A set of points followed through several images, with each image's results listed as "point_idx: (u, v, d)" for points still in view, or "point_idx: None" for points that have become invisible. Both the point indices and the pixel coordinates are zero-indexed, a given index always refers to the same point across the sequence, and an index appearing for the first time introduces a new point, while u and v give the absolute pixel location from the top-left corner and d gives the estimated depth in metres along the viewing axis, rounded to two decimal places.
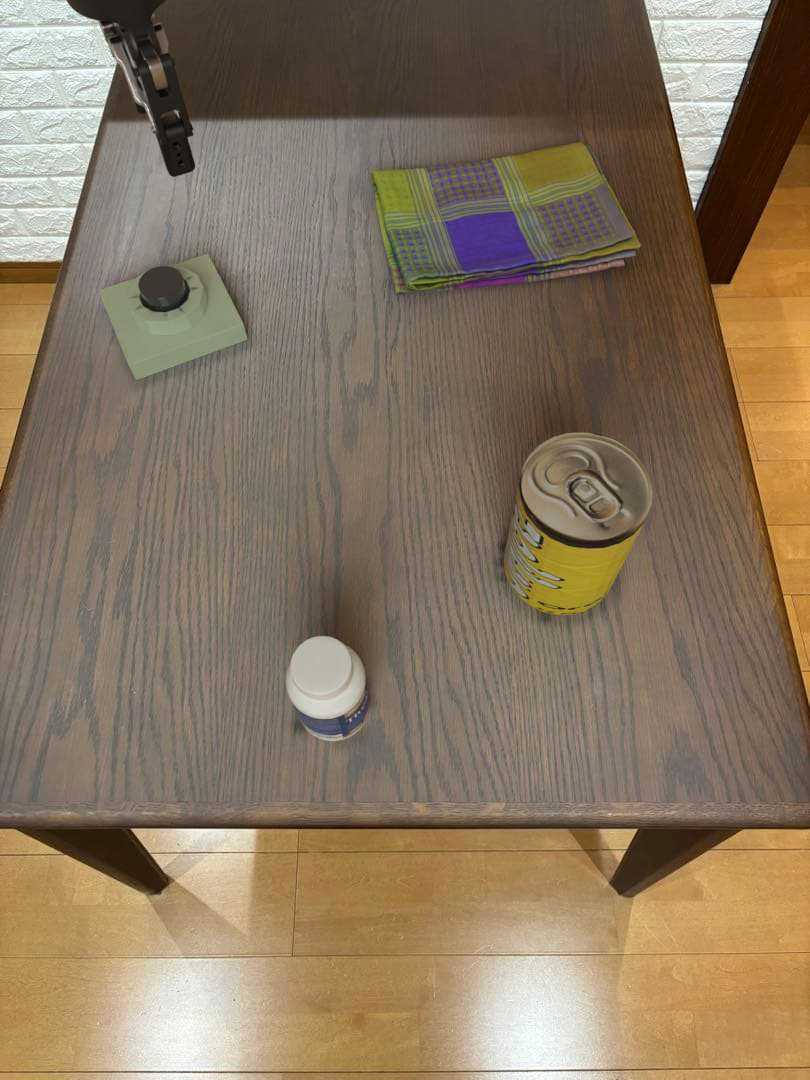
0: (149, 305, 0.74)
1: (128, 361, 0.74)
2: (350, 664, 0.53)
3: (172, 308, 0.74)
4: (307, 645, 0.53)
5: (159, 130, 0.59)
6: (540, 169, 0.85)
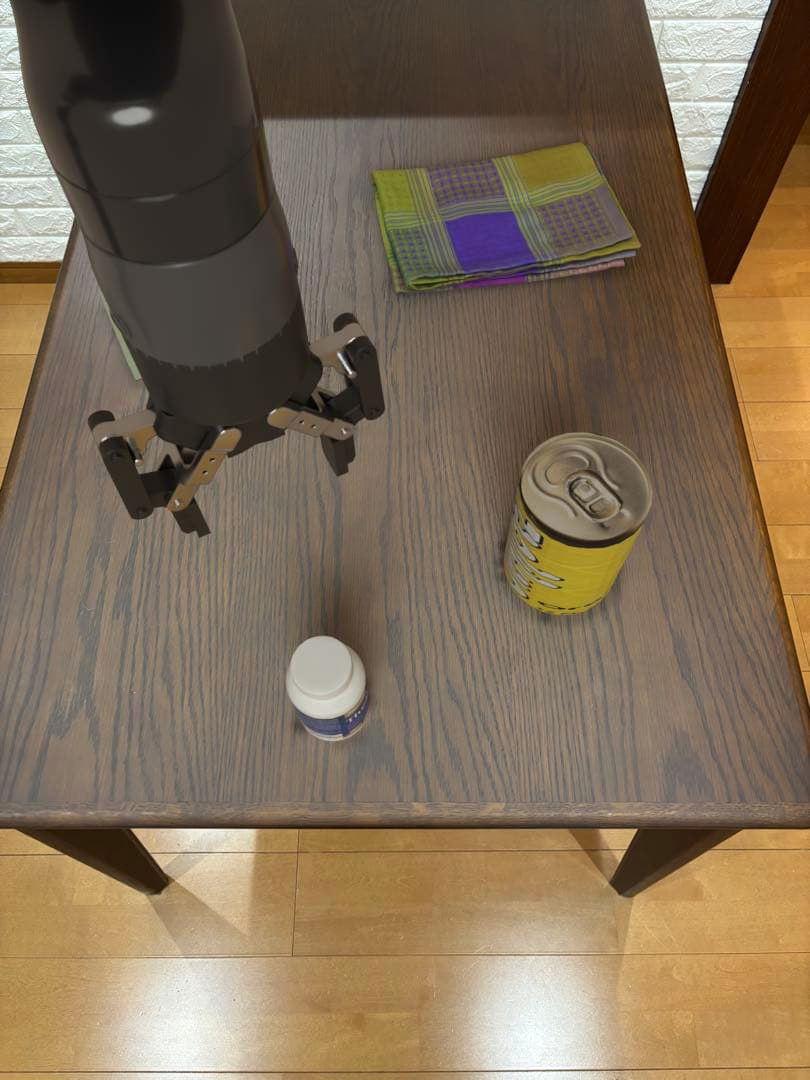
0: None
1: (128, 361, 0.74)
2: (350, 664, 0.53)
3: None
4: (307, 645, 0.53)
5: None
6: (540, 169, 0.85)
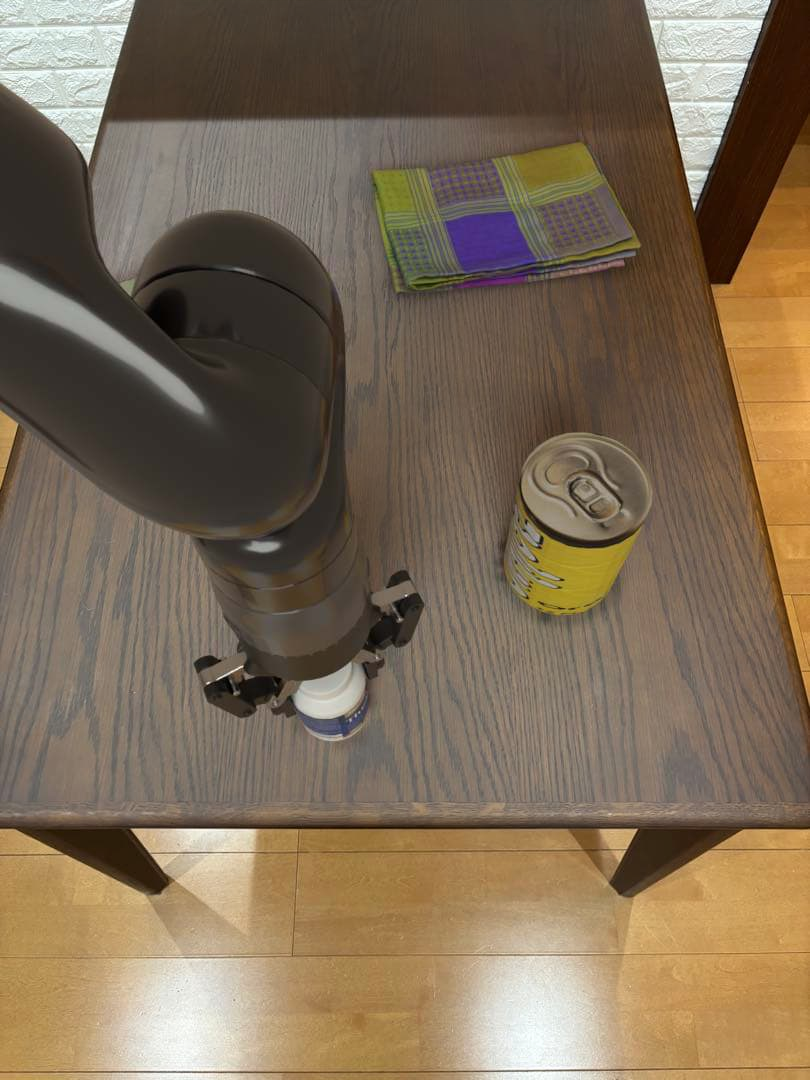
0: None
1: None
2: (350, 664, 0.53)
3: None
4: None
5: None
6: (540, 169, 0.85)
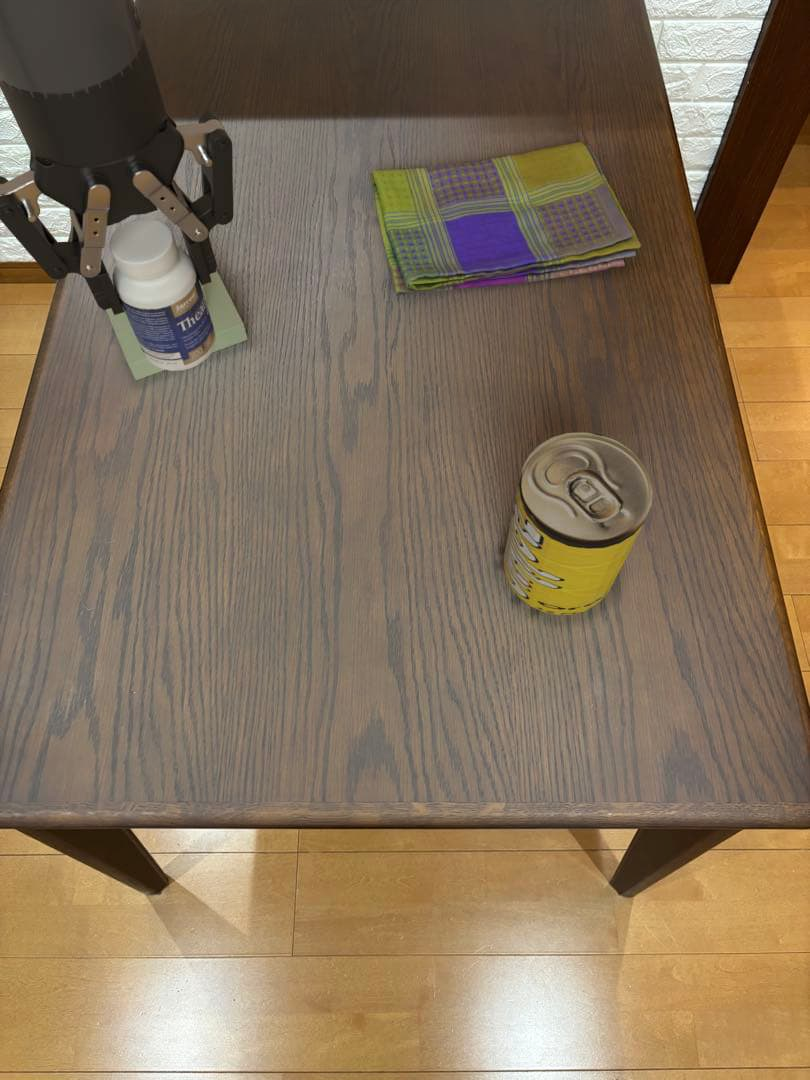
0: None
1: (128, 361, 0.74)
2: (171, 240, 0.51)
3: None
4: (128, 225, 0.52)
5: None
6: (540, 169, 0.85)
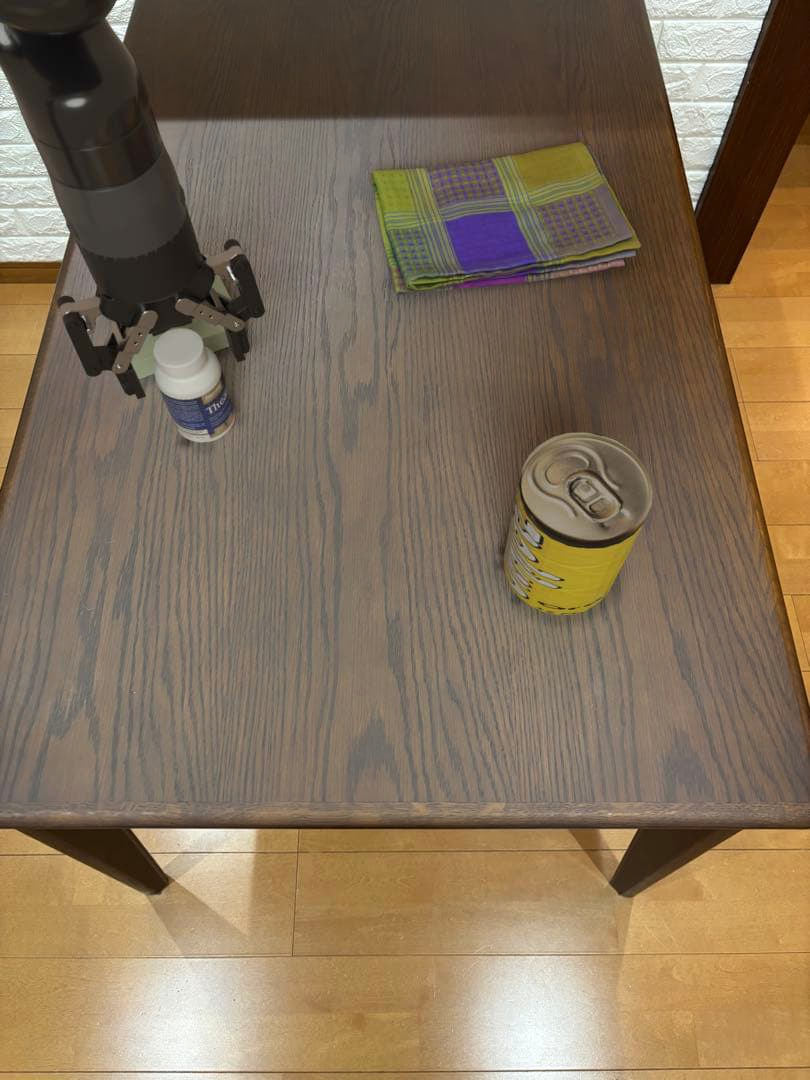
0: None
1: None
2: (202, 347, 0.65)
3: None
4: (168, 334, 0.65)
5: None
6: (540, 169, 0.85)
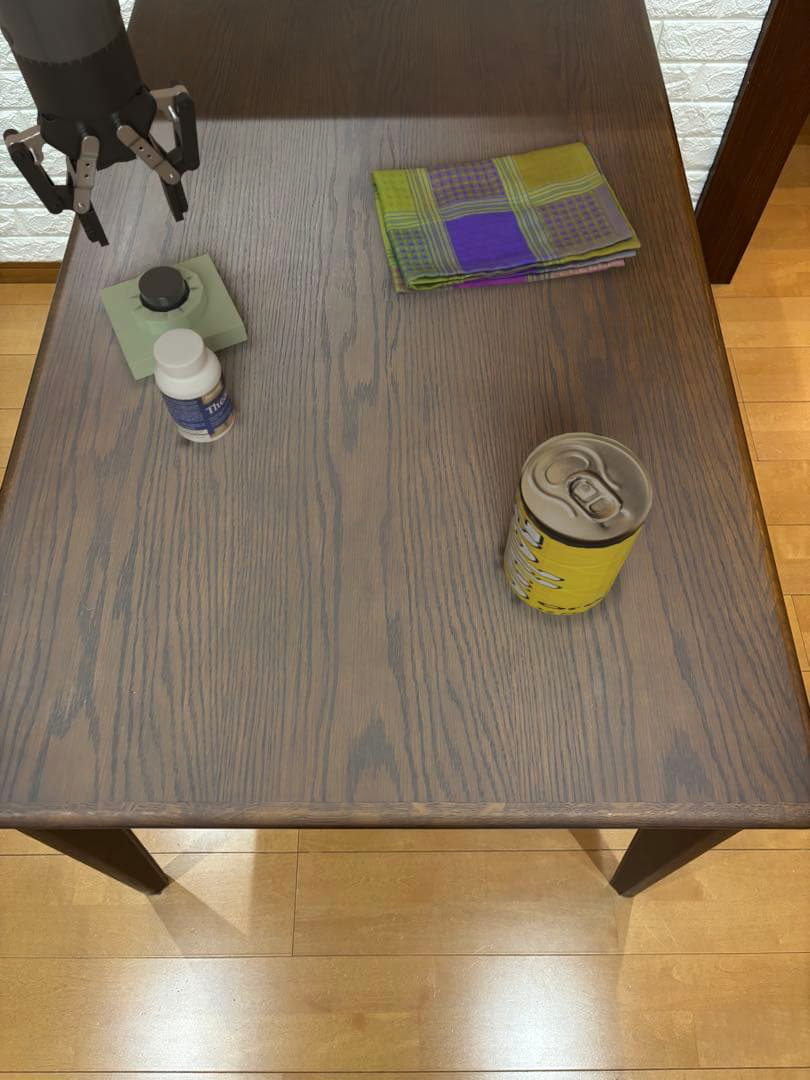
0: (149, 305, 0.74)
1: (128, 361, 0.74)
2: (202, 347, 0.65)
3: (172, 308, 0.74)
4: (168, 334, 0.65)
5: None
6: (540, 169, 0.85)
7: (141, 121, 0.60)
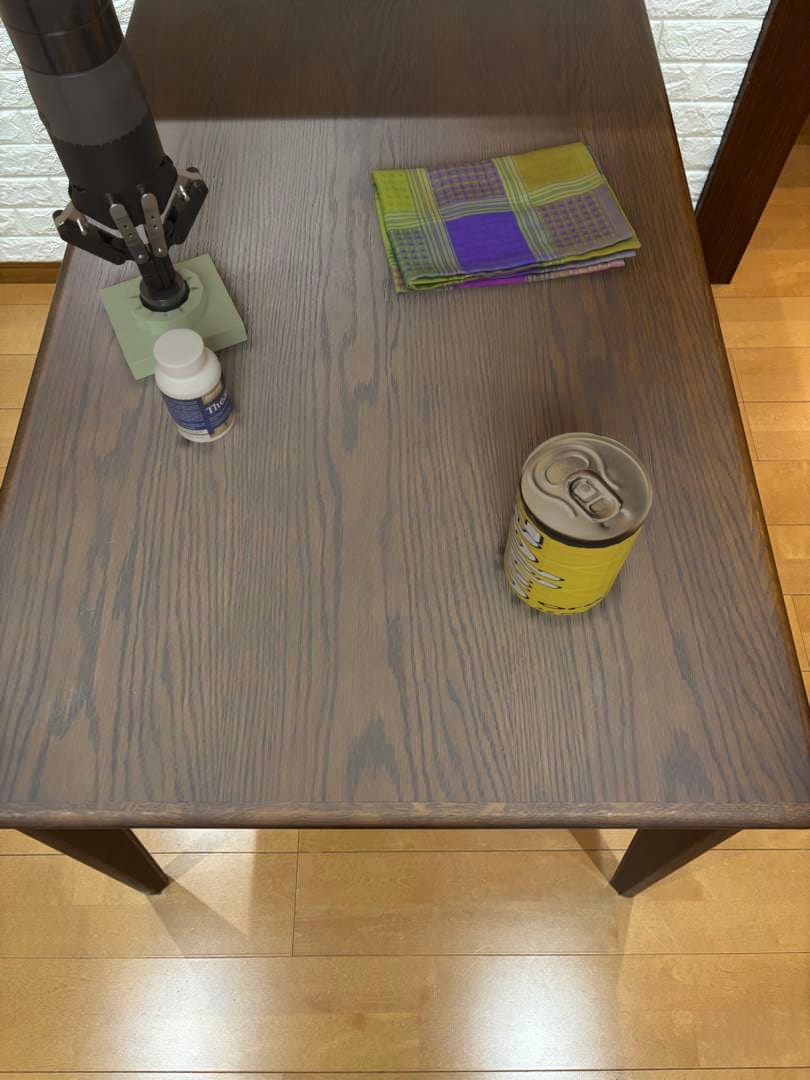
0: (150, 307, 0.75)
1: (128, 361, 0.74)
2: (202, 347, 0.65)
3: None
4: (168, 334, 0.65)
5: None
6: (540, 169, 0.85)
7: (163, 188, 0.65)
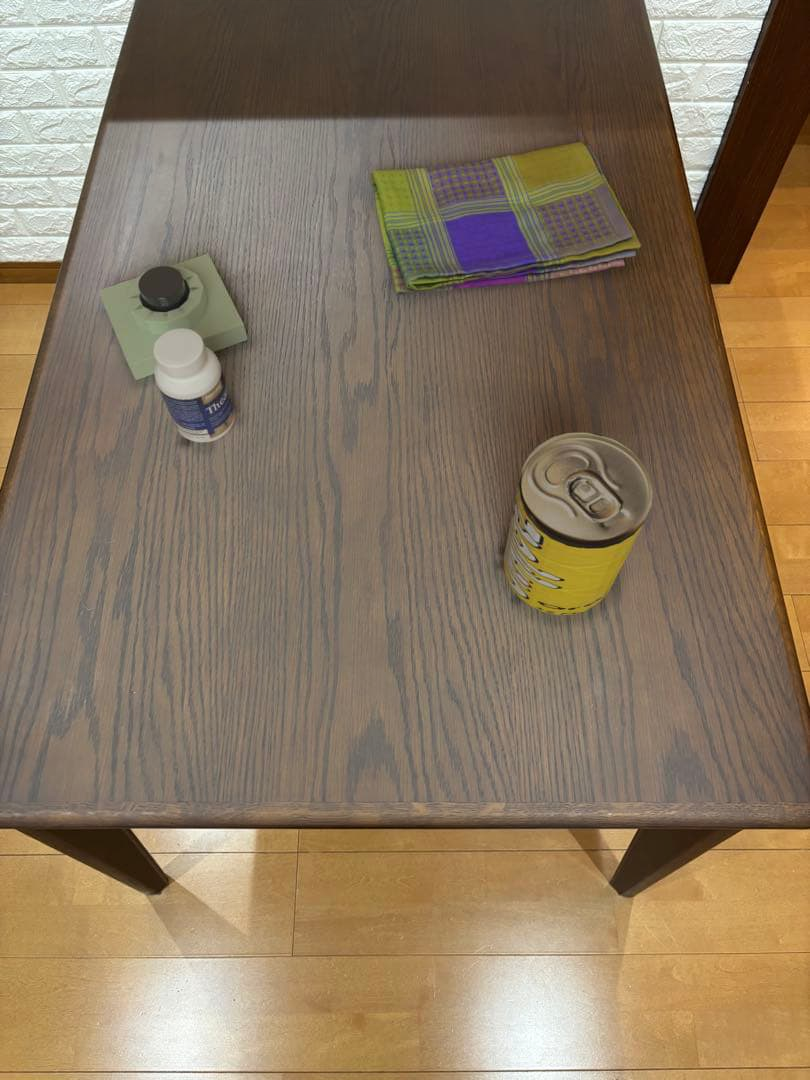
0: (149, 305, 0.74)
1: (128, 361, 0.74)
2: (202, 347, 0.65)
3: (172, 308, 0.74)
4: (168, 334, 0.65)
5: None
6: (540, 169, 0.85)
7: None
